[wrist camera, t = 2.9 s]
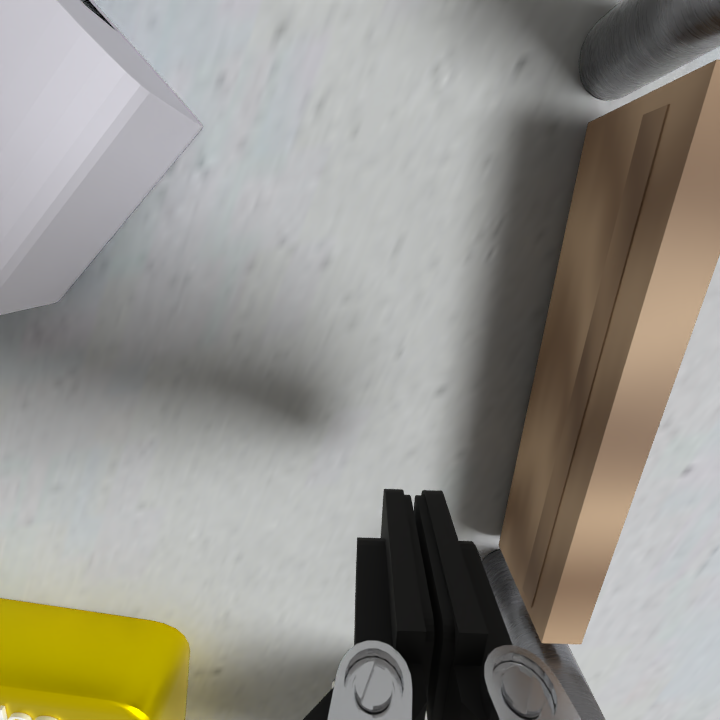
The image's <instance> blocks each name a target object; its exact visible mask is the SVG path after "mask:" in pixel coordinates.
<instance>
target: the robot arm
mask: <svg viewBox="0 0 720 720" xmlns="http://www.w3.org/2000/svg"><path fill="white" fill-rule="evenodd" d="M426 713H427V720H582V719H581V718H580V716H579V715H578V713H577V711H576V709H575V708H574V706H573V704H572V703H571V701H570V699H569V697H568V696H567V694H566V692H565V690H564V689H563V687H562V685H561V683H560V682H559V680H558V679H557V677H556V676H555V674H554V673H553V672H552V670H551V669H550V667H549V666H547V665H546V664H545V663H544V662H543V661H542V660H541V659H540V658H539V657H538V656H536V655H535V654H533V653H531V652H530V651H528V650H526V649H524V648H521V647H518V646H513V644H512V642H511V639H510V636H509V634H508V631H507V628H506V626H505V623H504V620H503V618H502V615H501V612H500V610H499V607H498V604H497V601H496V599H495V596H494V593H493V591H492V588H491V585H490V583H489V580H488V577H487V575H486V572H485V569H484V567H483V564H482V561H481V559H480V556H479V553H478V551H477V548H476V546H475V544H474V543H473V542H472V541H458V538H457V535H456V532H455V529H454V525H453V522H452V519H451V516H450V513H449V510H448V507H447V504H446V500H445V497H444V494H443V492H442V491H429V490H423V491H422V495H416V496H415V502H414V511H413V506H412V500H411V496H410V495H404V492H403V490H400V489H384V495H383V511H382V526H381V538H357V560H356V593H355V635H354V646H353V647H352V648H351V649H349V650H348V651H347V653H346V654H345V655H344V657H343V658H342V660H341V662H340V665H339V667H338V670H337V674H336V679H335V684H334V687H333V688H332V689H331V691H330V692H329V693H328V694H327V695H326V696H325V697H324V698H323V699H322V700H321V701H320V702H319V703H318V704H317V705H316V706H315V707H314V709H313V710H312V711H311V712H310V713H309V714H308V715H307V716H306V717H305V718H304V719H303V720H425V715H426Z"/></svg>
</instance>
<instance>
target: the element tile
mask: <svg viewBox="0 0 720 720" xmlns="http://www.w3.org/2000/svg"><path fill="white" fill-rule="evenodd" d="M189 659H190V648H189V643H188V642H187V640H186V638H185V636H184V635H183V634H182V633H181V632H179V631H178V630H177V629H176V628H173V627H171V626H169V625H166V624H164V623H160V622H156V621H152V620H145V619H138V618H131V617H124V616H118V615H111V614H104V613H97V612H90V611H84V610H77V609H70V608H63V607H56V606H50V605H43V604H36V603H29V602H23V601H16V600H9V599H2V598H0V720H185V714H186V700H187V687H188V673H189Z"/></svg>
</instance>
